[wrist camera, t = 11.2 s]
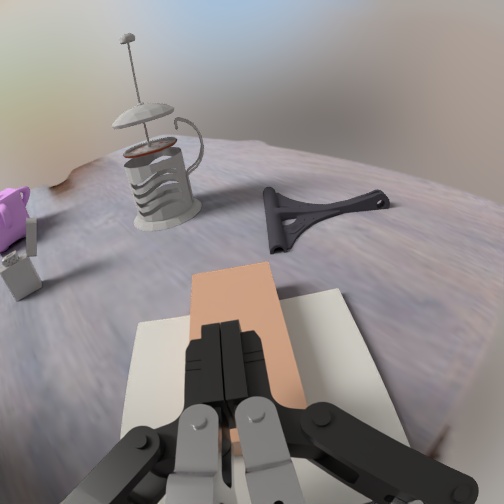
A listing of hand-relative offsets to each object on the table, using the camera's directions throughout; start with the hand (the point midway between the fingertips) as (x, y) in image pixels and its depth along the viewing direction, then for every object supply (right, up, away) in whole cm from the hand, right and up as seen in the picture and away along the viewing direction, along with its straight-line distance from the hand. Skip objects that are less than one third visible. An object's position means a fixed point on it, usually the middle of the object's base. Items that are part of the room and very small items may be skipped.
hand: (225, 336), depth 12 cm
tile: (+1, -6, +1) cm, 6 cm away
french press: (-10, +9, +30) cm, 32 cm away
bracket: (+10, +7, +24) cm, 27 cm away
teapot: (-44, +6, +34) cm, 56 cm away
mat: (+1, -6, +5) cm, 8 cm away
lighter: (-25, -1, +19) cm, 31 cm away
